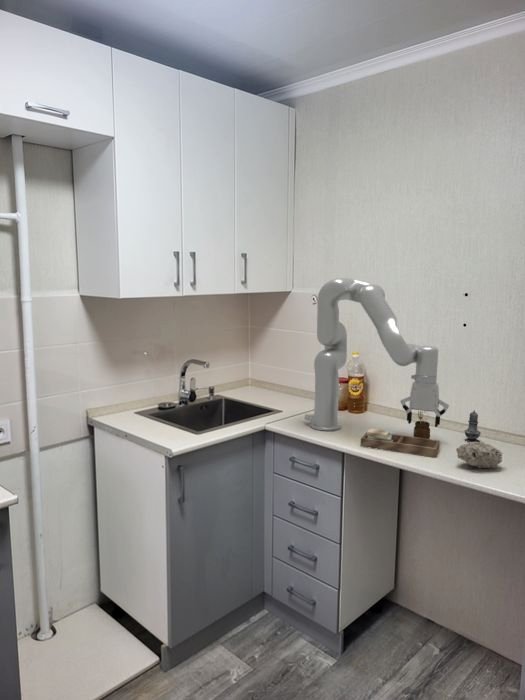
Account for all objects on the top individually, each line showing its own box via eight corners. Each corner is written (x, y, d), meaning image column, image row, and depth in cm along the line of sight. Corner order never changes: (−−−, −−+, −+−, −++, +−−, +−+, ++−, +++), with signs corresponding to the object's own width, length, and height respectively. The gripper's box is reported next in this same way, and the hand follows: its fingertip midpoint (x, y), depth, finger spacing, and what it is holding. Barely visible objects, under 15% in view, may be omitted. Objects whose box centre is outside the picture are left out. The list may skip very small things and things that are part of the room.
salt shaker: (481, 444, 200) (484, 412, 198) (464, 442, 201) (467, 411, 199) (478, 439, 206) (481, 408, 204) (462, 438, 207) (464, 407, 205)
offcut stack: (364, 446, 195) (364, 432, 194) (368, 441, 201) (369, 427, 200) (389, 450, 191) (390, 435, 190) (393, 445, 197) (393, 430, 196)
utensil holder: (431, 440, 203) (433, 409, 201) (426, 444, 198) (428, 412, 196) (416, 437, 206) (418, 406, 205) (410, 441, 201) (412, 409, 200)
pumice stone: (473, 475, 168) (475, 450, 167) (446, 462, 179) (448, 439, 178) (506, 469, 173) (509, 445, 172) (479, 458, 184) (481, 435, 183)
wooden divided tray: (360, 446, 194) (360, 438, 194) (367, 438, 204) (368, 430, 204) (435, 457, 183) (436, 449, 183) (439, 448, 193) (440, 440, 193)
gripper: (400, 378, 199) (397, 424, 201) (449, 383, 192) (446, 430, 194) (403, 375, 206) (401, 419, 208) (451, 380, 199) (448, 425, 201)
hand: (422, 424), depth 201 cm, fingers open, 9 cm apart
